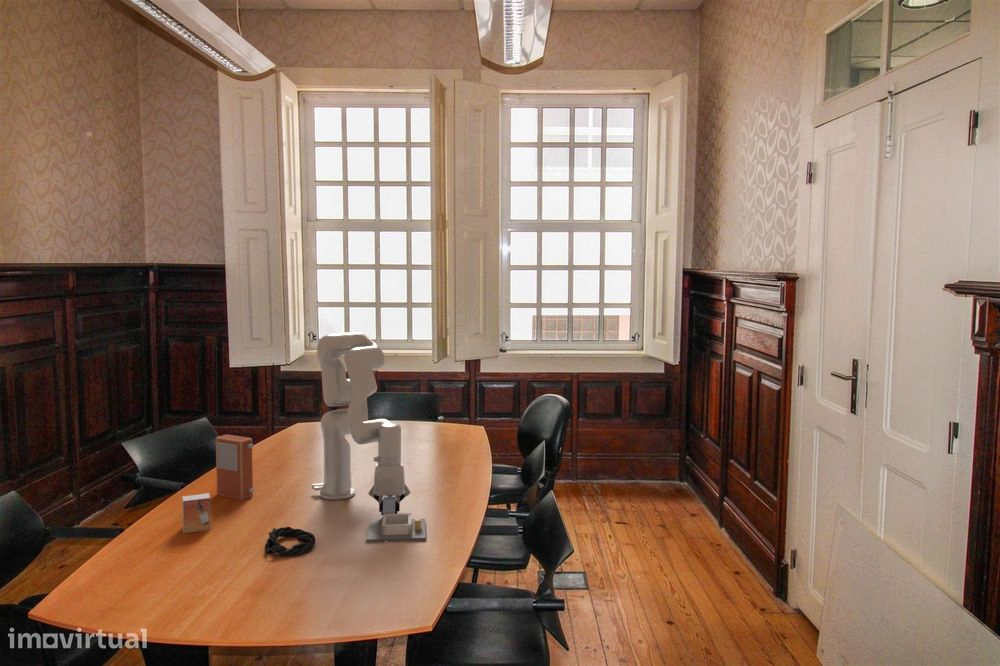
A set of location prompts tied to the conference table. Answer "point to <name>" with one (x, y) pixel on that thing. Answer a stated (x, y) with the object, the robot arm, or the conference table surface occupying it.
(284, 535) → the cable
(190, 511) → the small box
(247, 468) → the orange electrical enclosure
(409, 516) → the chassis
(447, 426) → the conference table surface
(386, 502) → the block
